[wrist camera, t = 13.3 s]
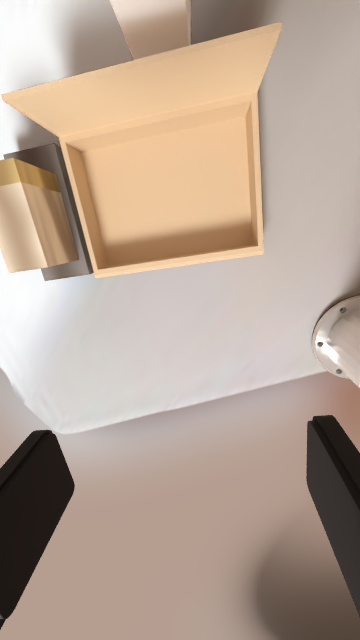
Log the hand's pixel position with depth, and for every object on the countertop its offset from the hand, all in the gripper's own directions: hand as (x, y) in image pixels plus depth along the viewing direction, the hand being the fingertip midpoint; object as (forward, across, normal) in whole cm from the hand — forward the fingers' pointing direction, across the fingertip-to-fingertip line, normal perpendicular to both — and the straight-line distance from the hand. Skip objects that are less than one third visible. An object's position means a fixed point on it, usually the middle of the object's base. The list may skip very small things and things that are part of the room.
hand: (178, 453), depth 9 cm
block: (+25, +17, -12) cm, 32 cm away
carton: (+28, +2, -12) cm, 31 cm away
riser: (+28, +17, -12) cm, 35 cm away
